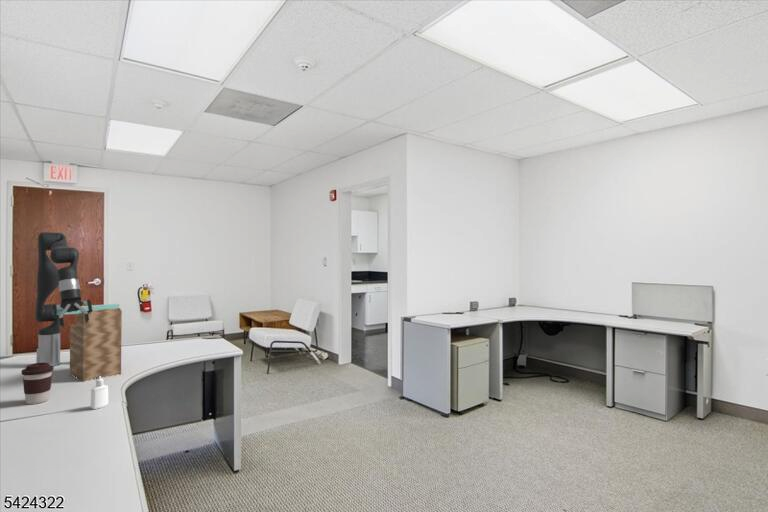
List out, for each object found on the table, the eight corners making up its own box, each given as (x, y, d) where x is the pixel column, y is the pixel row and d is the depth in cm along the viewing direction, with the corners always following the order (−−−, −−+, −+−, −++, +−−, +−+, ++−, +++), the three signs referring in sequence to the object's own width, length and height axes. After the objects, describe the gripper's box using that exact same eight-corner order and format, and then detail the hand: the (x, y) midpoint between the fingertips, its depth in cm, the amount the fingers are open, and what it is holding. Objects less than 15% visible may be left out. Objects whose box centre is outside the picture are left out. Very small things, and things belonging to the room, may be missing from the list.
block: (55, 315, 187) (55, 308, 187) (52, 314, 189) (52, 308, 189) (119, 310, 207) (119, 304, 207) (116, 309, 210) (116, 303, 210)
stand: (83, 381, 192) (83, 311, 193) (69, 374, 205) (70, 308, 205) (121, 374, 205) (121, 308, 205) (106, 367, 217) (106, 305, 218)
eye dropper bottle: (108, 407, 158) (109, 376, 159) (90, 410, 155) (91, 378, 155) (108, 404, 162) (108, 373, 162) (90, 407, 158) (90, 376, 159)
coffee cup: (24, 407, 158) (25, 368, 158) (18, 402, 164) (18, 365, 164) (56, 400, 166) (56, 363, 166) (49, 395, 172) (49, 360, 172)
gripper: (88, 288, 195) (93, 322, 193) (50, 293, 186) (55, 328, 184) (89, 286, 190) (94, 320, 188) (50, 291, 180) (55, 327, 179)
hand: (75, 324), depth 186 cm, fingers open, 8 cm apart
